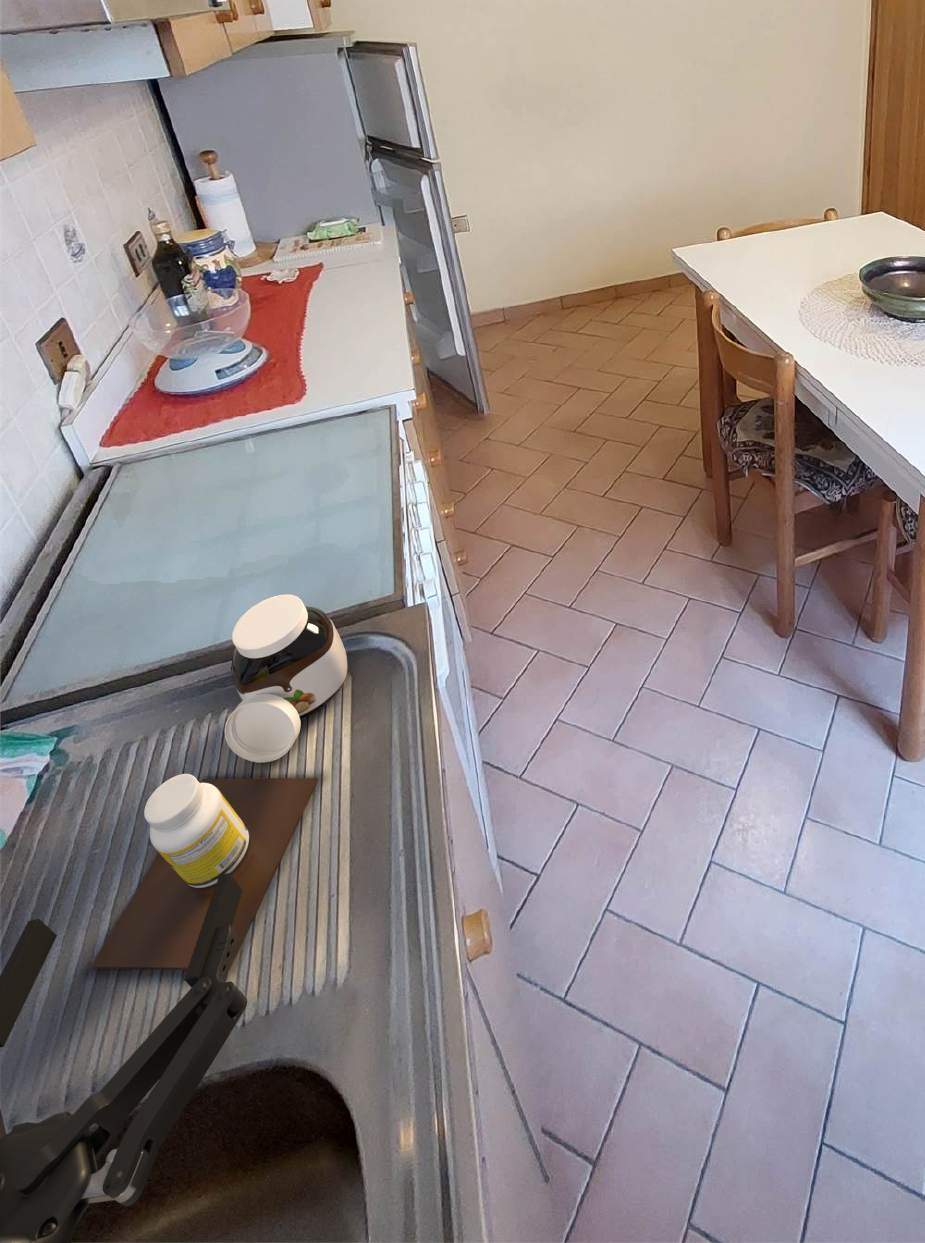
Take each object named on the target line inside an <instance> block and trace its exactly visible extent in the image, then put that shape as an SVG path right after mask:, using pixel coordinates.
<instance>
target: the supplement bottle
mask: <svg viewBox="0 0 925 1243" xmlns="http://www.w3.org/2000/svg"><path fill="white" fill-rule="evenodd" d="M143 816H144V818H145V820H146V822H147V823H148V824H149V826H150V828H149V839H150V843H151V844H152V846H153V847H154V849H155V850H156V852H158V853H160V854H161V855H162V856H163V858H164V859H165V860H166V861H167V862H168V863H169V864H170V865H171V866H172V868H173V869H174V870H175V871H176V872H177V873H178V874H179V875H180V877H181V878H182V879H183V880H184V881H185V882H186V883H187V884H188V885H190V886H192V887H195V888H203V887H208V886H211V885H213V884H215V883H217V880H218V877H219V875H222V874H226V873H231V872H232V871H233V870H234V869H235V868H236V867H237V865H238V864H239V863H240V861H241V860H242V858H243V856H244V854H245V852H246V850H247V847H248V843H249V833H248V830H247V828H246V826H245V825H244V823H243V822H242V820H241V819H240V818H239V816H238V815H237V814H236V812H235V811H234V810H233V808H232V807H231V806H230V804H229V803H228V802H227V801H226V799H225V798H224V797H223V795H222V794H221V793H220V791H219V790H218V789H217V788H216V787H215V786H213V785H212V784H209V783H201V782H199V780H198V779H197V778H196V777H195V776H194V775H192V774H189V773H182V774H178V775H175V776H172V777H171V778H169V779H167V780H166V781H164V782H163V783H161V784H160V785H159V786H158V787H157V788H156V789H155V790H154V791H153V792H152V793H151V795H150V796H149V798H148V800H147V801H146V803H145V806H144V811H143Z"/></svg>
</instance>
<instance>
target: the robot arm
mask: <svg viewBox="0 0 925 1243" xmlns="http://www.w3.org/2000/svg"><path fill="white" fill-rule="evenodd" d="M242 891H243V890H242V888H241V887H240V886H239V884H238V883H237V882H236V881H235V879H234V878H233V877H232V875H231V874H230V873H226V874H222V875H219V877H218V880H217V883H216V886H215V889H214V892H213V895H212V898H211V901H210V904H209V907H208V910H207V913H206V916H205V919H204V922H203V925H202V928H201V931H200V934H199V937H198V940H197V943H196V946H195V949H194V952H193V955H192V958H191V960H190V963H189V966H188V969H187V970H186V972H185V975H184V978H183V980H184V982H185V983H186V984H188V986H189V987H190V989H189V990H188V991H187V992H186V993H185V994H184V995H183V996H182V998H181V999H180V1000H179V1001H178V1002H177V1003H176V1005H175V1006H173V1008H172V1009H171V1010H170V1012H168V1013H167V1015H166V1016H165V1017H164V1018H163V1019H162V1020H161V1021H160V1022H159V1024H158V1025H157V1026H156V1027H155V1028H154V1029H153V1031H152V1032H151V1033H150V1034H149V1035H148V1036H147V1038H145V1040H144V1041H143V1042H142V1043H141V1044H140V1045H139V1047H138V1048H137V1049H136V1050H135V1051H134V1052H133V1054H132V1055H130V1057H129V1058H128V1059H127V1060H126V1061H125V1063H124V1064H122V1066H121V1067H120V1068H119V1069H118V1070H117V1071H116V1072H115V1074H114V1075H113V1076H112V1077H111V1079H109V1080H108V1081H107V1083H105V1085H104V1086H103V1088H101V1090H99V1091H98V1092H95V1093H92V1094H91V1095H90V1096H88V1097H87V1098H86V1099H85V1100H84V1102H82V1103H81V1105H80V1106H79V1107H78V1108H77V1109H76V1111H75V1112H74V1113H70V1112H69V1111H68V1110H66V1111H63V1112H60V1113H56V1114H52V1115H51V1116H49V1117H48V1118H46V1119H44V1120H42V1121H40V1122H31V1121H29V1122H28V1121H25V1122H22V1123H18V1124H15V1125H13V1126H12V1128H11V1131H9V1132H8V1133H7V1130H6V1127H5V1122H4V1118H3V1114H2V1110H1V1109H0V1243H72V1240H73V1236H74V1233H75V1230H76V1227H77V1226H78V1223H79V1222H80V1220H81V1218H82V1217H83V1215H84V1214H85V1211H86V1210H87V1209H88V1207H89V1206H90V1204H94V1203H101V1202H103V1203H104V1202H110V1201H115V1202H117V1203H118V1204H120V1205H123V1207H129V1206H132V1205H133V1204H134V1203H136V1202H137V1201H138V1199H139V1198H140V1197H141V1195H142V1193H143V1192H144V1189H145V1187H146V1184H147V1181H148V1179H149V1176H150V1174H151V1171H152V1169H153V1166H154V1164H155V1161H156V1158H157V1155H158V1153H159V1151H160V1149H161V1147H162V1145H163V1143H164V1142H165V1140H166V1139H167V1137H168V1135H169V1134H170V1132H171V1130H172V1129H173V1127H174V1125H175V1124H176V1123H177V1121H178V1119H179V1117H180V1116H181V1115H182V1113H183V1111H184V1109H185V1108H186V1106H187V1105H188V1103H189V1102H190V1099H191V1098H192V1097H193V1095H194V1093H195V1091H196V1090H197V1088H198V1087H199V1085H200V1083H201V1082H202V1081H203V1079H204V1077H205V1075H206V1074H207V1072H208V1071H209V1069H210V1067H211V1066H212V1064H213V1062H214V1061H215V1059H216V1057H217V1056H218V1055H219V1053H220V1051H221V1050H222V1048H223V1046H224V1044H225V1043H226V1041H227V1040H228V1038H229V1037H230V1035H231V1033H232V1031H233V1030H234V1028H235V1027H236V1025H237V1023H238V1022H239V1020H240V1018H241V1017H242V1015H243V1014H244V1012H245V1010H246V1009H247V1006H248V1002H249V1001H248V998H247V996H246V995H245V994H244V993H243V992H242V991H241V990H240V989H239V987H238V986H237V985H236V984H235V983H234V982H232V981H230V980H229V981H227V978H228V975H229V971H230V970H229V968H230V965H231V961H232V957H233V954H234V950H235V948H236V944H237V941H238V940H237V933H236V932H235V930H234V929H233V928H232V924H233V920H234V917H235V914H236V911H237V907H238V904H239V901H240V898H241V894H242ZM57 936H58V934H57V933H56V932H54V930H52V929H51V927H49V926H48V925H47V924H46V923H45V922H44V921H42V920H41V919H40V918H35V919H31V920H27V922H26V925H25V927H24V928H23V930H22V932H21V934H20V936H19V938H18V940H17V941H16V944H15V946H14V947H13V950H12V952H11V954H10V956H9V958H8V960H7V962H6V963H5V966H4V967H3V969H2V971H1V973H0V1049H1V1048H4V1047H5V1045H6V1043H7V1042H8V1039H9V1038H10V1035H11V1033H12V1031H13V1029H14V1027H15V1024H16V1022H17V1020H18V1019H19V1016H20V1014H21V1012H22V1010H23V1008H24V1005H25V1004H26V1002H27V999H28V998H29V995H30V993H31V991H32V990H33V987H34V985H35V983H36V981H37V978H38V976H39V974H40V972H41V970H42V968H43V966H44V964H45V962H46V960H47V957H48V955H49V953H50V951H51V949H52V947H53V944H54V943H55V941H56V939H57ZM230 969H231V968H230ZM149 1092H150V1093H149ZM148 1093H149V1094H148ZM147 1094H148V1095H147ZM146 1096H147V1097H146ZM145 1097H146V1099H145V1100H144V1102H143V1104H142V1105H141V1106H140V1108H139V1110H138V1112H136V1114H135V1116H134V1118H133V1119H132V1121H131V1123H129V1125H128V1127H127V1129H126V1131H125V1132H124V1135H123V1136H122V1138H121V1140H120V1143H119V1145H118V1147H117V1148H113V1149H112V1150H110V1151H109V1152H108V1154H107V1156H106V1158H105V1164H104V1165H103V1166H102V1167H101V1168H100V1169H99V1168H98V1164H97V1163H98V1162H97V1161H98V1160H99V1159H100V1158H101V1156H103V1154H104V1153H105V1151H106V1150H107V1149H108V1148H109V1147H110V1145H112V1143H113V1142H114V1141H115V1139H116V1138H117V1137H118V1136H119V1135H120V1133H121V1132H122V1131H123V1129H124V1128H125V1126H126V1124H127V1120H128V1117H129V1116H130V1114H131V1113H132V1112H134V1110H135V1109H136V1107H137V1106H138V1105H139V1104H140V1103H141V1101H143V1099H144V1098H145ZM95 1124H96V1125H98V1127H97V1128H96V1130H95V1131H93V1133H92V1134H91V1129H90V1128H91V1127H92V1126H93V1125H95Z"/></svg>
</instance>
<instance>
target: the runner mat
mask: <svg viewBox="0 0 925 1243" xmlns="http://www.w3.org/2000/svg"><path fill="white" fill-rule="evenodd" d="M318 782H319V778H318V777H280V778H279V777H273V778H271V777H270V778H269V777H267V778H266V777H265V778H264V777H263V778H203V779H202V780H201V782H200V783H209V784H212V785H213V786H215V787H216V788H217V789H218V790H219V791H220V793H221V794H222V795H223V797H224V798H225V799H226V801H227V802H228V803H229V804H230V806H231V807H232V808H233V810H234V811H235V812H236V814H237V815H238V816H239V818H240V819H241V820H242V822H243V823H244V825H245V826H246V828H247V830H248V833H249V843H248V847H247V850H246V852H245V854H244V856H243V858H242V860H241V861H240V863H239V864H238V865H237V867H236V868H235V869H234V870H233V871H232V872H231V873H230V874H231V875H232V877H233V878H234V879H235V881H236V882H237V883H238V884H239V886H240V887H241V888H242V890H243V891H242V894H241V898H240V901H239V904H238V907H237V911H236V914H235V917H234V920H233V924H232V928H233V929H234V930H235V932H236V933H237V940H238V941H237V944H236V948H235V950H234V954H233V957H232V961H231V965H230V968H229V971H230V970H231V968H232V966H233V964H234V961H235V960H236V957H237V955H238V953H239V951H240V949H241V947H242V945H243V942H244V941H245V938H246V936H247V934H248V933H249V930H250V927H251V925H252V923H253V921H254V919H255V917H256V915H257V912H258V910H259V908H260V906H261V904H262V902H263V900H264V898H265V895H266V894H267V891H268V889H269V887H270V884H271V883H272V880H273V878H274V876H275V874H276V872H277V869H278V868H279V866H280V863H281V861H282V859H283V856H284V855H285V853H286V850H287V848H288V846H289V844H290V842H291V839H292V838H293V836H294V833H295V832H296V828H297V826H298V824H299V822H300V821H301V818H302V816H303V815H304V812H305V810H306V807H307V805H308V803H309V801H310V799H311V797H312V796H313V792H314V790H315V788H316V786H317V784H318ZM215 886H216V883H215V884H213V885H211V886H208V887H203V888H195V887H192V886H190V885H188V884H187V883H186V882H185V881H184V880H183V879H182V878H181V877H180V875H179V874H178V873H177V872H176V871H175V870H174V869H173V868H172V866H171V865H170V864H169V863H168V862H167V861H166V860H165V859H164V858H163V856H162V855H161V854H160V853H159V852H158V853H157V855H156V856H155V858H154V860H153V862H152V863H151V865H150V866H149V868H148V870H147V871H146V873H145V875H144V877H143V878H142V880H141V882H139V885H138V887H137V888H136V890H135V891H134V893H133V894H132V897H131V898H130V900H129V902H128V903H127V905H126V907H125V908H124V910H123V911H122V913H121V915H120V917H119V918H118V920H117V921H116V923H115V925H114V927H113V928H112V930H111V932H110V933H109V934H108V937H107V938H106V940H105V942H104V943H103V945H102V947H101V948H100V950H99V951H98V952H97V955H96V957H95V958H94V960H93V962H92V963H91V965H90V968H91V969H92V970H149V971H150V970H154V971H155V970H156V971H157V970H159V971H161V970H163V971H164V970H165V971H167V970H168V971H187V969H188V966H189V963H190V960H191V958H192V955H193V952H194V949H195V946H196V943H197V940H198V937H199V934H200V931H201V928H202V925H203V922H204V919H205V916H206V913H207V910H208V907H209V904H210V901H211V898H212V895H213V892H214V889H215Z"/></svg>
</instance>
